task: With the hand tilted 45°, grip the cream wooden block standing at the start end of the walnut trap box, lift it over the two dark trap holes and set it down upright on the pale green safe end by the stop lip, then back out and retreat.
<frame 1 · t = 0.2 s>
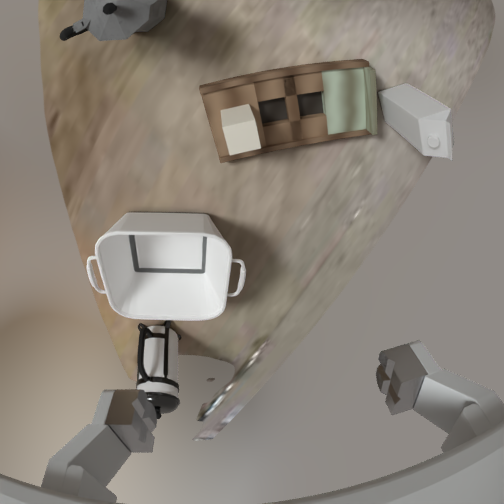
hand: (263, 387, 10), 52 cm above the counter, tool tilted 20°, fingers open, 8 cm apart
coffee press: (157, 327, 96), on the counter
tub: (168, 241, 72), on the counter
cream block: (237, 119, 52), point 2 cm above the counter, touching trap box
milk carton: (395, 101, 54), on the counter
trap box: (290, 105, 53), on the counter
coffeepot: (134, 11, 37), on the counter
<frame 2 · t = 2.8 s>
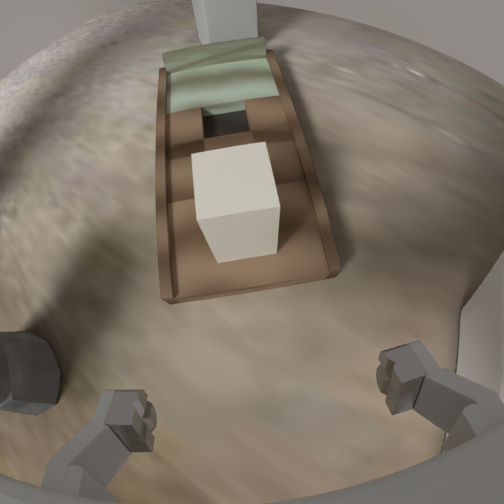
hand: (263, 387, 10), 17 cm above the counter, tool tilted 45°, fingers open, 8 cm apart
cream block: (242, 231, 27), point 2 cm above the counter, touching trap box
milk carton: (228, 45, 40), on the counter
trap box: (230, 153, 33), on the counter
coffeepot: (33, 383, 25), on the counter
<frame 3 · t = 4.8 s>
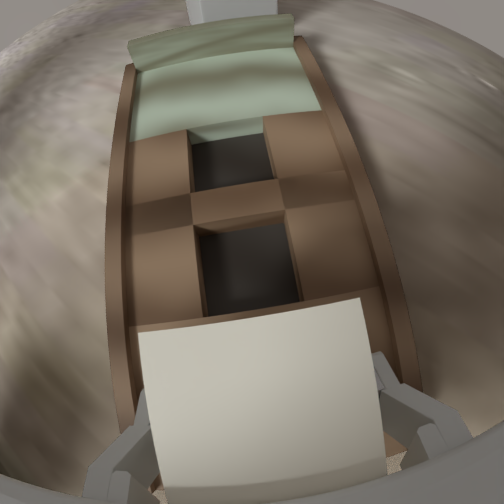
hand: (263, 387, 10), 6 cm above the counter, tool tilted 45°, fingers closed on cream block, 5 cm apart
cream block: (267, 392, 14), point 2 cm above the counter, touching gripper, trap box
milk carton: (232, 30, 27), on the counter
trap box: (239, 216, 19), on the counter
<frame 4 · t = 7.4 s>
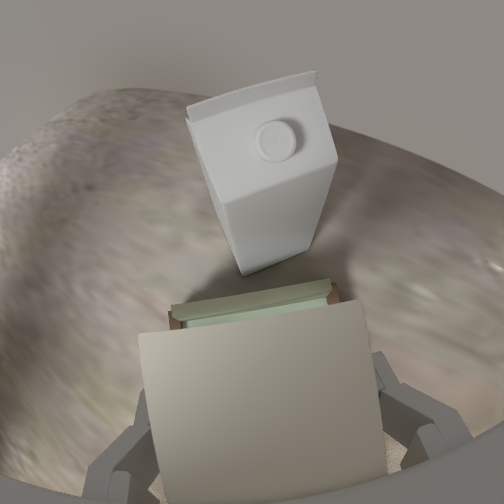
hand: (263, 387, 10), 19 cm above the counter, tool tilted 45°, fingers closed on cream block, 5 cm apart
cream block: (267, 392, 14), point 14 cm above the counter, touching gripper
milk carton: (262, 233, 32), on the counter
trap box: (279, 455, 25), on the counter
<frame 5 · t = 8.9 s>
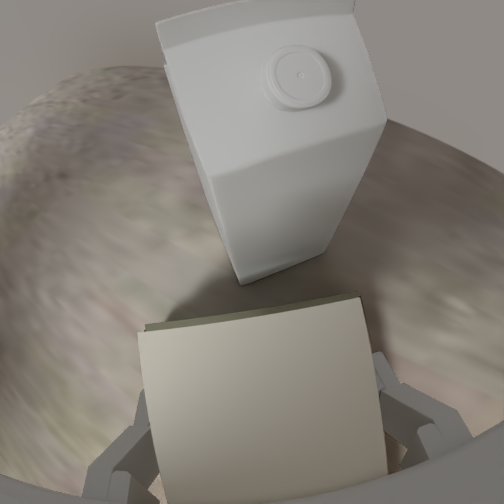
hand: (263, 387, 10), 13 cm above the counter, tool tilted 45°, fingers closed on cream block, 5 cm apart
cream block: (267, 391, 14), point 8 cm above the counter, touching gripper
milk carton: (266, 231, 26), on the counter
trap box: (283, 503, 18), on the counter
when the fingers open (8 cm above the counter, at t = 10.2 s): cream block drops 1 cm, resting on trap box.
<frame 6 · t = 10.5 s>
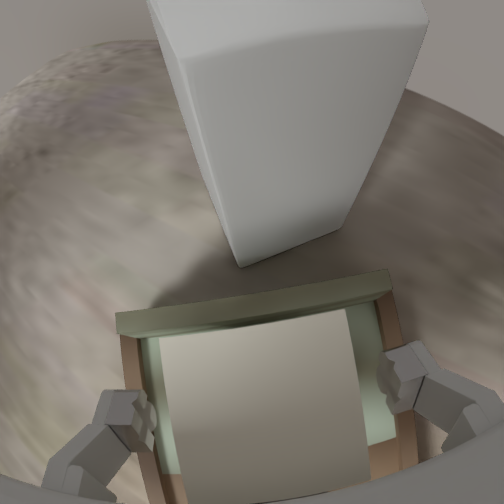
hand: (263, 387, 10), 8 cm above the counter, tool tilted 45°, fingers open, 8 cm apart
cream block: (267, 389, 15), point 2 cm above the counter, touching trap box
milk carton: (270, 203, 21), on the counter
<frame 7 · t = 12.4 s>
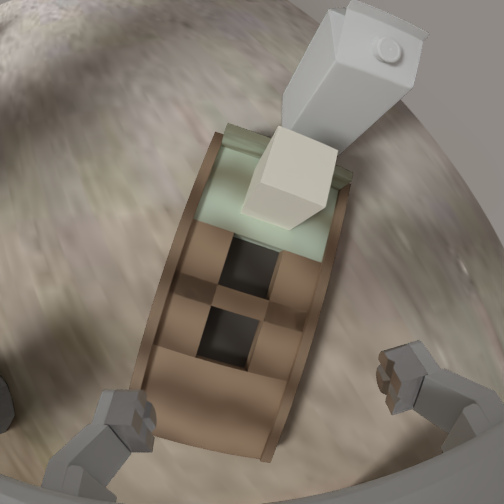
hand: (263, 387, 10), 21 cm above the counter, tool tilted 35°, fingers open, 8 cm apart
cream block: (272, 198, 31), point 2 cm above the counter, touching trap box
milk carton: (309, 125, 35), on the counter
trap box: (237, 302, 31), on the counter
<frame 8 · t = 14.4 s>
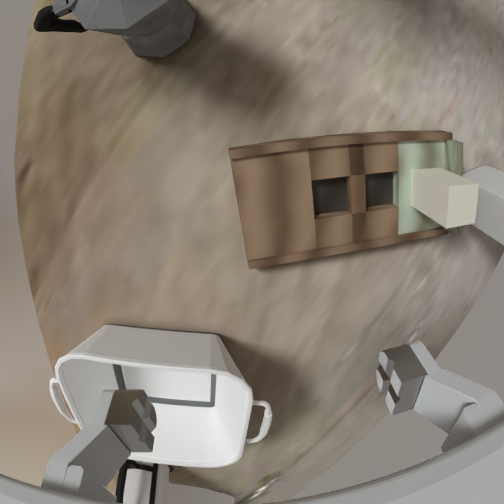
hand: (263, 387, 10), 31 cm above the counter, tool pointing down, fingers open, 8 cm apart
coffee press: (144, 455, 64), on the counter
tub: (164, 365, 50), on the counter
cream block: (425, 186, 38), point 2 cm above the counter, touching trap box
milk carton: (471, 190, 41), on the counter
trap box: (352, 190, 40), on the counter
coffeepot: (149, 27, 29), on the counter
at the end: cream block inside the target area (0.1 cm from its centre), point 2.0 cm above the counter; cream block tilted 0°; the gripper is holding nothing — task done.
